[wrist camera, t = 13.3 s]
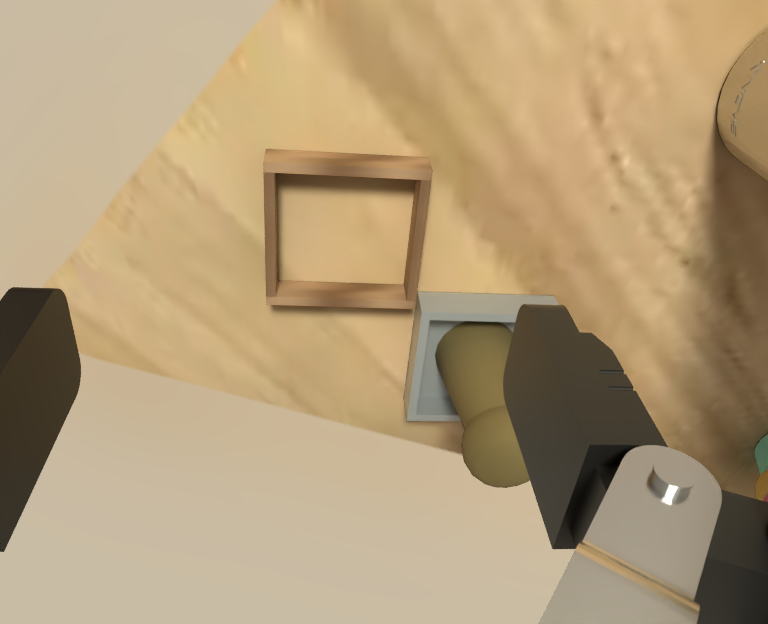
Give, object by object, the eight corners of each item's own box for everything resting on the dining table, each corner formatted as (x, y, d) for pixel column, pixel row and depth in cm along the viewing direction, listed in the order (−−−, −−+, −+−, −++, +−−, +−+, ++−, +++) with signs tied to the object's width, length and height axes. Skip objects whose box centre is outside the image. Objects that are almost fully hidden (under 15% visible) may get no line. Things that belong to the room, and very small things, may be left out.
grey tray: (554, 295, 46) (564, 316, 44) (526, 399, 52) (534, 422, 50) (417, 291, 45) (421, 312, 43) (403, 397, 51) (406, 421, 49)
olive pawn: (481, 396, 50) (514, 515, 41) (418, 363, 48) (439, 480, 39) (535, 343, 48) (583, 456, 39) (471, 304, 46) (507, 416, 37)
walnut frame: (428, 157, 40) (432, 170, 38) (411, 292, 45) (414, 308, 44) (266, 149, 39) (263, 162, 37) (268, 288, 44) (266, 304, 43)
